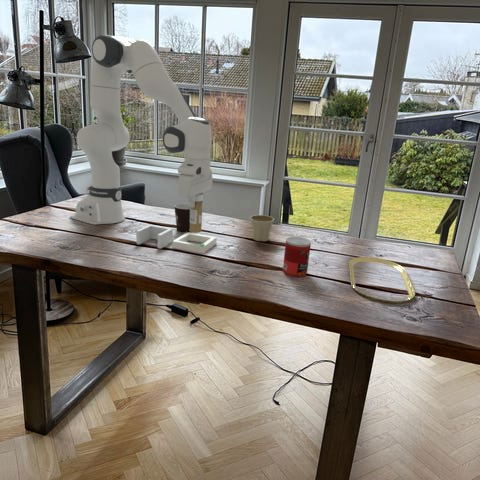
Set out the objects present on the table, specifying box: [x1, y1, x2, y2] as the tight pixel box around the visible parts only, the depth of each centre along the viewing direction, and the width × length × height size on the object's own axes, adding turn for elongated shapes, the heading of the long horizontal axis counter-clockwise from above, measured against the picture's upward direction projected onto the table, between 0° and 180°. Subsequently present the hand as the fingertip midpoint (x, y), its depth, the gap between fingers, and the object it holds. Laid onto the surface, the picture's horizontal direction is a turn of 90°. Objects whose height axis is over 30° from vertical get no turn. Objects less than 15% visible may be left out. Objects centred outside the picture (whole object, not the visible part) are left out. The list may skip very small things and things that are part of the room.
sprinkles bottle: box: [189, 194, 204, 234], centre depth 151 cm, size 5×5×13 cm
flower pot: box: [249, 214, 275, 242], centre depth 166 cm, size 9×9×9 cm
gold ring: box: [348, 256, 416, 304], centre depth 136 cm, size 19×35×2 cm, turn 168°
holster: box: [135, 224, 174, 249], centre depth 154 cm, size 10×9×5 cm
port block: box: [171, 232, 218, 254], centre depth 154 cm, size 12×12×3 cm
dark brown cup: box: [173, 203, 191, 234], centre depth 171 cm, size 12×9×10 cm
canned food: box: [282, 236, 312, 278], centre depth 135 cm, size 8×8×11 cm
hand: (196, 205), depth 150 cm, fingers closed on sprinkles bottle, 4 cm apart
